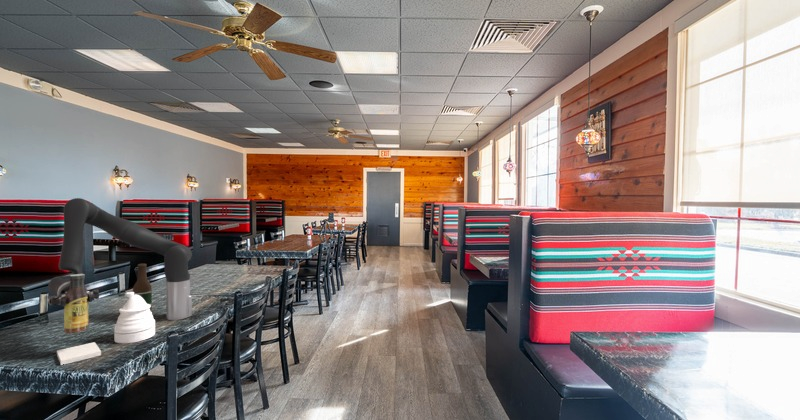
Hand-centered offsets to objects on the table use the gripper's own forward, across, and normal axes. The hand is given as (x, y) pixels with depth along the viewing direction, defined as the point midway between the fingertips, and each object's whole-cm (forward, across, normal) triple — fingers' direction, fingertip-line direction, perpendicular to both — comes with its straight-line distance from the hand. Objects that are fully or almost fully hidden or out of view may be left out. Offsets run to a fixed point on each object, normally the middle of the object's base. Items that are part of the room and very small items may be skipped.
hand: (77, 301), depth 120 cm
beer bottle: (-35, +26, +19) cm, 48 cm away
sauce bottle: (-2, 0, +11) cm, 11 cm away
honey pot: (-5, +17, +19) cm, 26 cm away
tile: (-5, 0, +18) cm, 19 cm away
